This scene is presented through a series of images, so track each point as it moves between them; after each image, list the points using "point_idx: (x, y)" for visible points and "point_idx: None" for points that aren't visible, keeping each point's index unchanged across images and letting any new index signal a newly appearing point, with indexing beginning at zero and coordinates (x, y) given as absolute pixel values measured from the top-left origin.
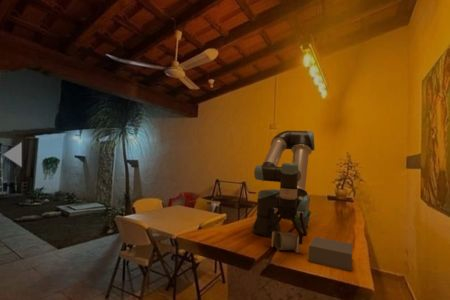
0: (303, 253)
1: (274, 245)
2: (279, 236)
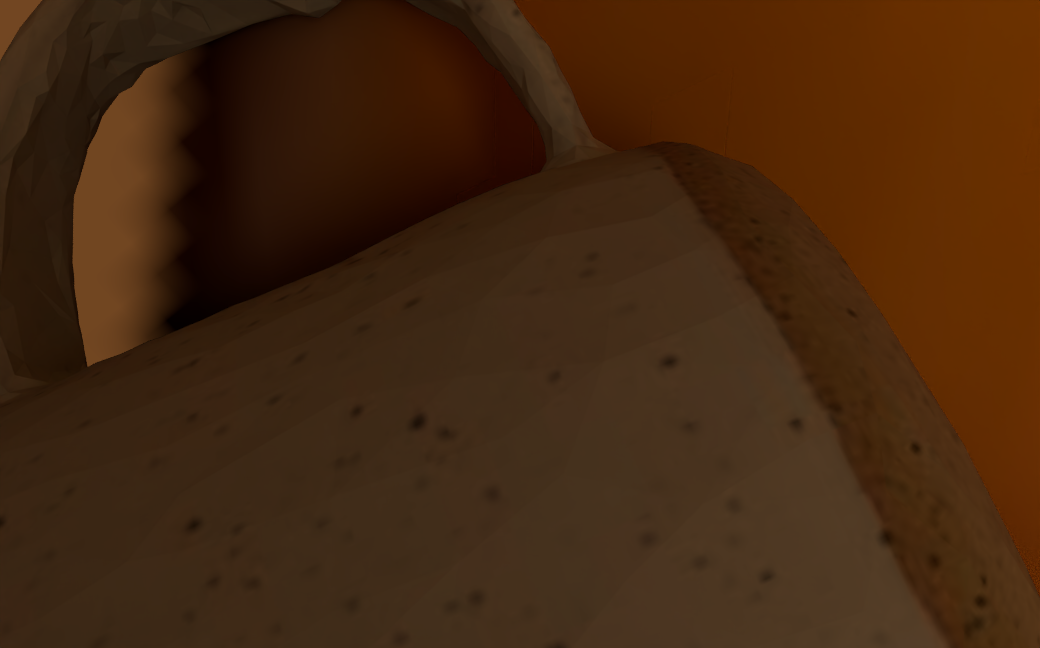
0: (1032, 569)
1: None
2: (44, 484)
